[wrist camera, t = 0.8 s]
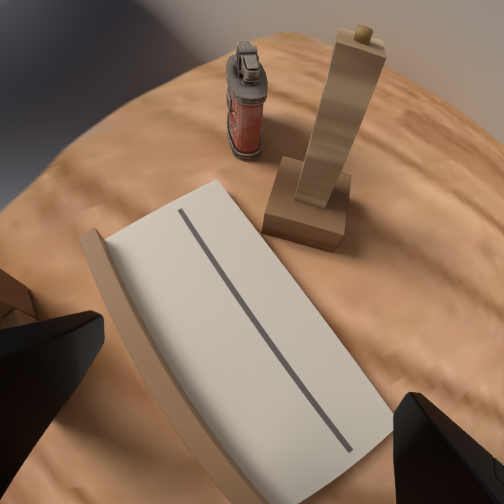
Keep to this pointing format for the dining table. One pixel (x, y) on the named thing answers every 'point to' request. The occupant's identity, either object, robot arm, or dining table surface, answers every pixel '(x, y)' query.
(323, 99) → the wooden post on base
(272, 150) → the dining table surface
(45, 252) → the dining table surface
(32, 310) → the brown wooden block structure
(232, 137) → the lighter
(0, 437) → the robot arm
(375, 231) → the dining table surface
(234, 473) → the board
